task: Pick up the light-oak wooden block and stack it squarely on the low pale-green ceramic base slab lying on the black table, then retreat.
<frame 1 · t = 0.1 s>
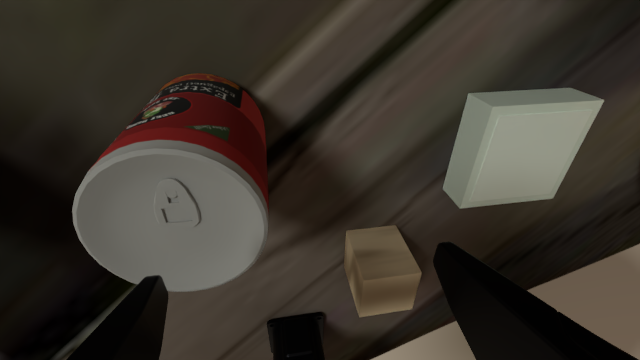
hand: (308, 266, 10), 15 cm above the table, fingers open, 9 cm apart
canned food: (211, 126, 22), on the table
base: (502, 141, 27), on the table
block: (368, 245, 32), on the table
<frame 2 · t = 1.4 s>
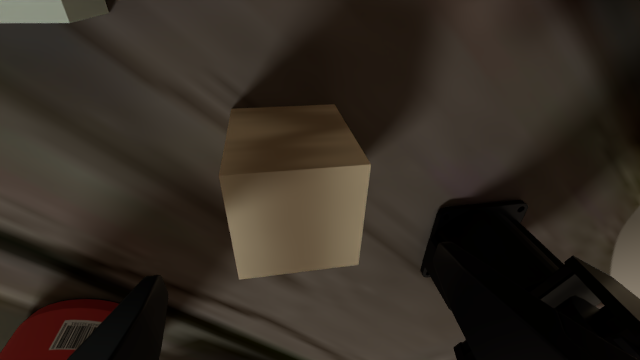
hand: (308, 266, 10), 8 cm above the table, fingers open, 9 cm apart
canned food: (94, 327, 22), on the table
block: (286, 151, 16), on the table
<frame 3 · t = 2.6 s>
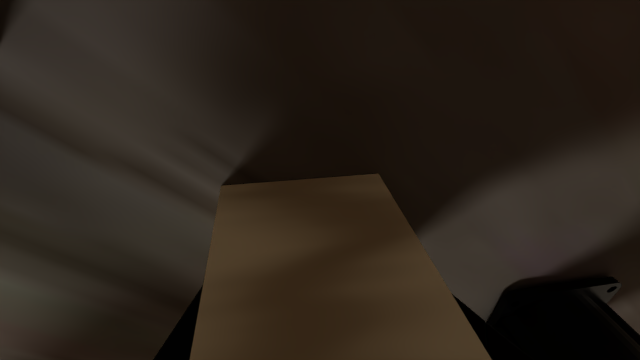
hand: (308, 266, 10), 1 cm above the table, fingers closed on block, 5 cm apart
block: (303, 237, 11), on the table, touching gripper
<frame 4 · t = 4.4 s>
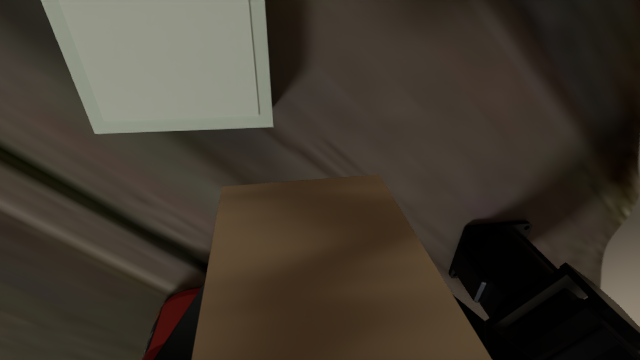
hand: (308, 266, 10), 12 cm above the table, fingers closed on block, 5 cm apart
canned food: (205, 310, 29), on the table
base: (181, 29, 16), on the table
block: (304, 238, 11), point 11 cm above the table, touching gripper
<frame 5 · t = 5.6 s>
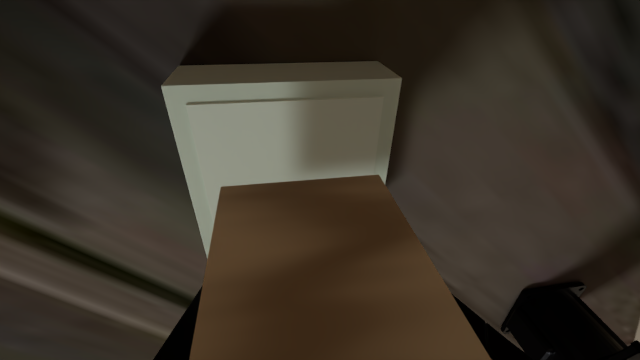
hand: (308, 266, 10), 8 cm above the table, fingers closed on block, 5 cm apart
base: (287, 150, 16), on the table
block: (303, 238, 11), point 7 cm above the table, touching gripper
when the fingers open (5 cm above the table, at t = 6.4 s): block stays where it is, resting on base.
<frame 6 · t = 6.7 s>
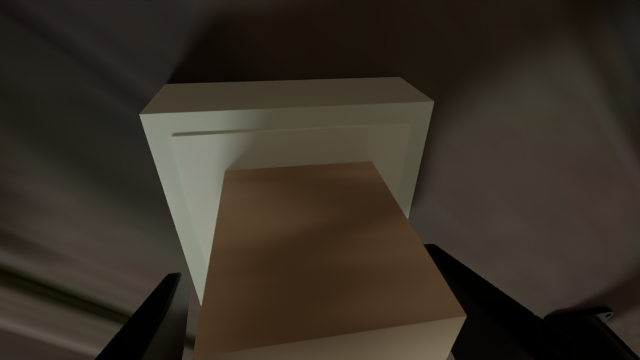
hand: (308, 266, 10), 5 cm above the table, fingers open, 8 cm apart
base: (292, 178, 14), on the table
block: (301, 221, 12), point 3 cm above the table, touching base
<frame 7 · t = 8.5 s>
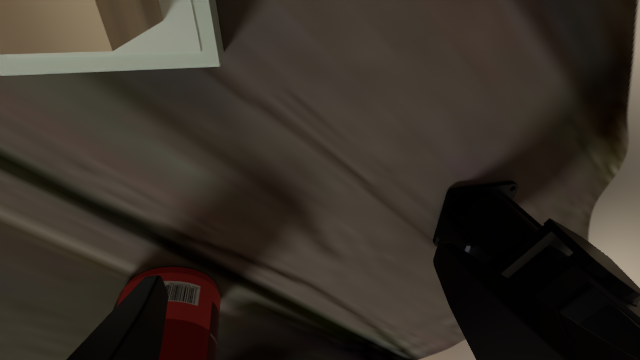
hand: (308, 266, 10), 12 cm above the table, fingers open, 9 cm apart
canned food: (173, 291, 27), on the table
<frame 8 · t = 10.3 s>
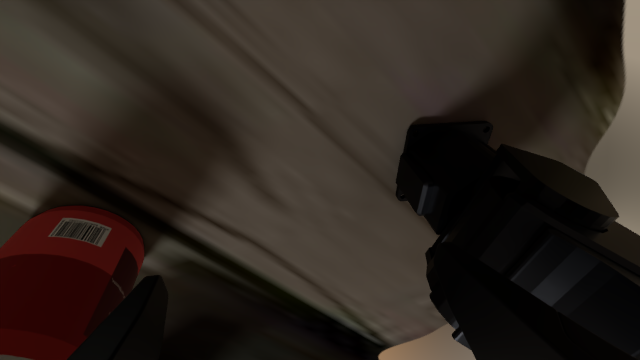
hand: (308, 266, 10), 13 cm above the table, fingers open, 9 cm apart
canned food: (90, 240, 23), on the table
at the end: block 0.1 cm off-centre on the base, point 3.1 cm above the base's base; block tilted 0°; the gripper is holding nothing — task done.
